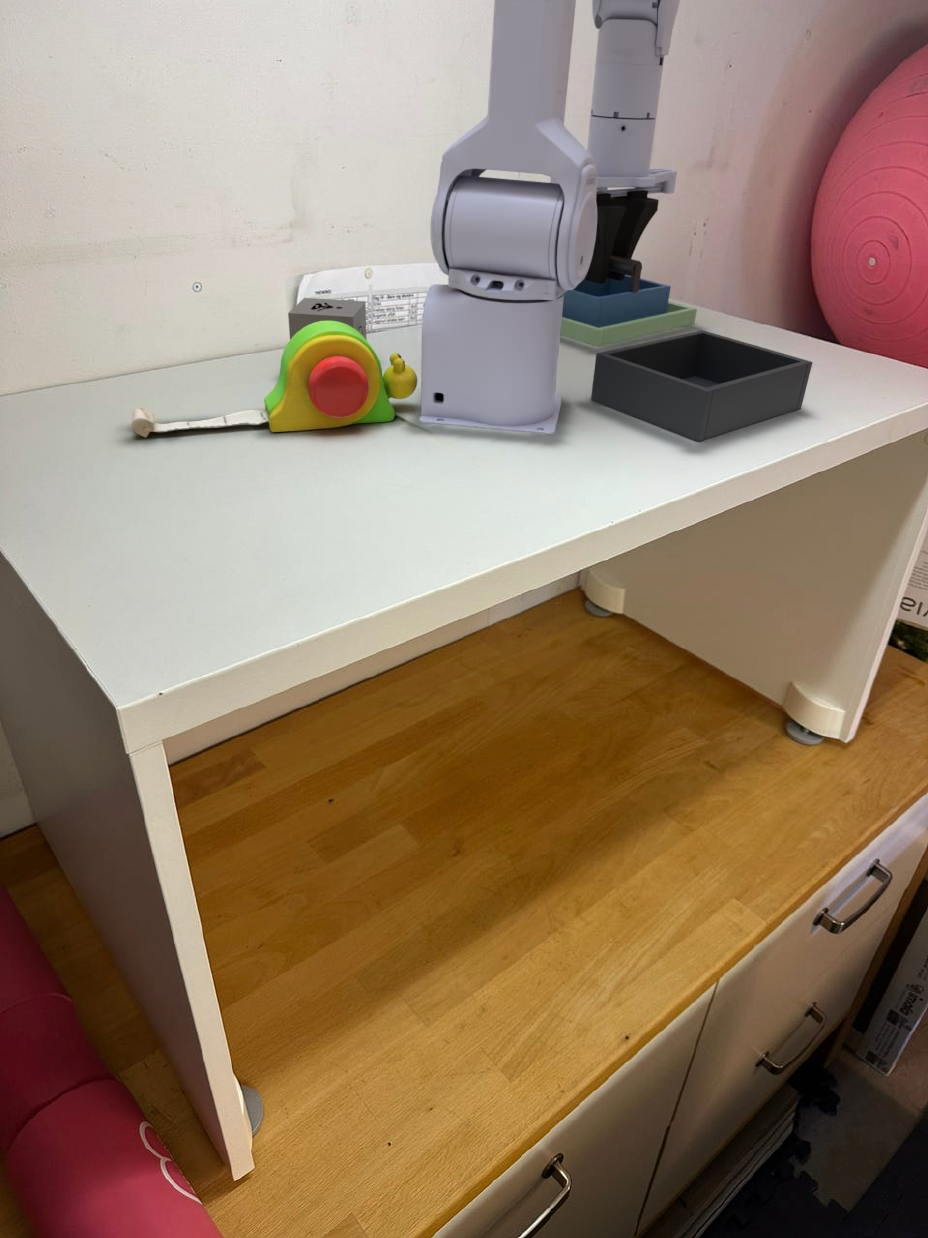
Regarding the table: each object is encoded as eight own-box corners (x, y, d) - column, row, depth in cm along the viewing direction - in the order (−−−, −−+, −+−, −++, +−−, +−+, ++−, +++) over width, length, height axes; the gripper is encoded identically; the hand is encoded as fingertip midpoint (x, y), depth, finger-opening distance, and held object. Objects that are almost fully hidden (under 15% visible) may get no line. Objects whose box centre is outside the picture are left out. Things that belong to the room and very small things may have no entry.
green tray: (596, 351, 79) (599, 329, 78) (504, 321, 87) (505, 301, 86) (693, 328, 87) (697, 308, 86) (601, 302, 95) (603, 284, 94)
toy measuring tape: (427, 429, 62) (429, 333, 58) (133, 451, 57) (115, 348, 53) (406, 399, 67) (406, 309, 63) (134, 417, 62) (117, 320, 58)
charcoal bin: (696, 448, 60) (707, 391, 58) (589, 406, 67) (595, 352, 65) (799, 414, 67) (813, 361, 65) (693, 378, 74) (701, 329, 71)
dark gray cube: (308, 359, 74) (304, 297, 72) (367, 363, 74) (365, 301, 71) (292, 377, 70) (288, 312, 67) (355, 381, 70) (353, 316, 67)
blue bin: (593, 337, 82) (601, 266, 78) (535, 318, 87) (540, 250, 83) (665, 323, 87) (675, 255, 84) (606, 305, 92) (613, 241, 89)
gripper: (598, 121, 71) (580, 297, 78) (712, 119, 79) (686, 279, 86) (538, 114, 76) (526, 281, 83) (651, 113, 83) (631, 266, 91)
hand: (604, 279), depth 85 cm, fingers closed
